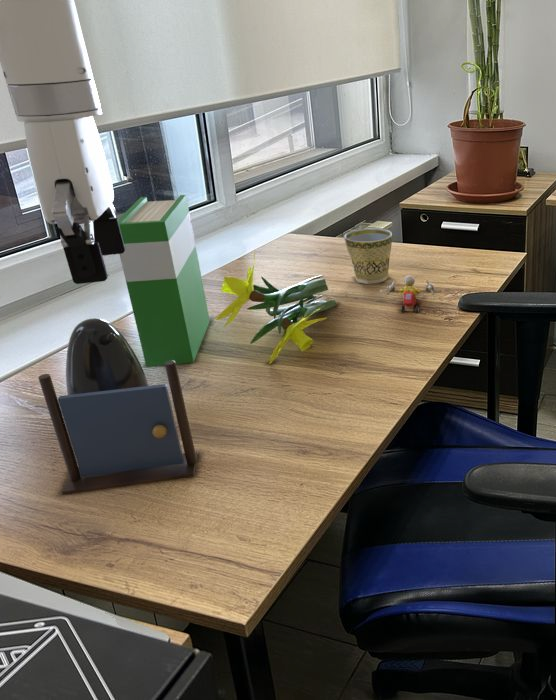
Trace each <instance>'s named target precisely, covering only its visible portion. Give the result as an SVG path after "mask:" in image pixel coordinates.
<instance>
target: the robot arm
mask: <svg viewBox="0 0 556 700" xmlns="http://www.w3.org/2000/svg"><path fill="white" fill-rule="evenodd" d="M85 42H86V41H85V38H84V34H83V31H82V27H81V23H80V18H79V14H78V10H77V7H76V3H75V0H0V66H1V70H2V73H3V76H4V80H5V83H6V87H7V90H8V94H9V97H10V100H11V103H12V106H13V110H14V113H15V114H14V115H15V116H16V120H17V121H18V122H21V123H23V126H24V134H25V142H26V147H27V153H28V156H29V157H28V158H29V161H30V166H31V170H32V175H33V179H34V182H35V187H36V191H37V195H38V200H39V202H40V203H39V204H40V206H41V210H42V214H43V218H44V220H45V221H46V222H47V223H48V224H49V225H57V227H56V232H57V234H59V236H60V244H61V246H62V248H63V252H64V255H65V258H66V259H65V260H66V262H67V266H68V269H69V272H70V275H71V279H72V282H73V283H74V284H76V285H80V284H81V285H82V284H83V285H84V284H89V283H90V284H91V283H101V282H105V281H106V280H108V278H109V275H108V272H107V267H106V264H105V260H104V257H103V256H111V255H120V254H122V253H124V252H125V246H124V242H123V238H122V234H121V230H120V226H119V222H118V219H119V218H118V217H117V211H116V208H115V207H114V204H113V202H114V198H115V193H114V187H113V183H112V178H111V174H110V171H109V167H108V162H107V160H106V159H107V158H106V156H105V151H104V149H103V145H102V142H101V139H100V135H99V131H98V128H97V125H96V123H95V122H96V121H95V119H94V117H95V116H100V115H102V114H103V112H102V108H101V103H100V99H99V95H98V91H97V87H96V83H95V79H94V75H93V71H92V67H91V63H90V59H89V55H88V51H87V47H86V43H85ZM82 225H83V227H84V228H83V227H82Z"/></svg>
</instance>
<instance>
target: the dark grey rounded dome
mask: <svg viewBox="0 0 556 700" xmlns="http://www.w3.org/2000/svg"><path fill="white" fill-rule="evenodd" d="M65 384H66V393H67V394H66V395H73V394H82V393H91V392H100V391H108V390H117V389H126V388H135V387H144V386H149V382H148V378H147V376H146V374H145V371H144V369H143V366H142V365H141V363H140V360H139V358H138V356H137V355H136V353H135V351H134V349H133V348H132V346H131V345H130V344H129V341H128V340H127V339H126V338H125V336H124V335H123V334H122V333H121V332H120V331H119V329H118V328H117V327H115V325H113V324H112V323H111V322H109V321H107V320H106V319H102V318H87V319H85V320H82V321H81V322H79V323H78V324H77V325H76V326H74V328H73V330H72V332H71V334H70V337H69V340H68V344H67V349H66V358H65Z"/></svg>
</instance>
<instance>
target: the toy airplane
mask: <svg viewBox="0 0 556 700" xmlns="http://www.w3.org/2000/svg"><path fill="white" fill-rule="evenodd" d="M415 281H416V280H415V277H414V276H412V275H406V276H405V277H404V279H403V282H404V284H405V286H404V287H403V288H399V289H396V286H395V283H396V281H395V280H392V283H390V284H387V287H386V289H379V293H380V294H386V296H389V295H390V294H400V295H401V296H403V299H402V304H403V305H401V311H400V312H401V314H402V313H405V312H414V311H415V313H419V310H420V308H419V305H417V296H421V297H422V296H424V295H425V294H431V296H435V294H442V289H435V287H434V285H433V284H432V283H430V282H429V280H428V279H427V280H425V282H426V285H425V289H421V288H418V289H417V288H416V287H415V286H414V285H415ZM414 306H415V307H414Z"/></svg>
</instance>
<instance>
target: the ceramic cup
mask: <svg viewBox="0 0 556 700" xmlns="http://www.w3.org/2000/svg"><path fill="white" fill-rule="evenodd" d="M343 238H344V242H345V246H346V250H347V253H348V255H349V257H350V260H351V261H350V262H351V265H352V268H353V273H354V276H355V279H356V282H357V283H360V284H365V285H371V284H373V285H374V284H381V283H383V282H384V281H386V280H388V276H389V269H390V258H391V252H392V244H393V233H392V230H391V229H385V228H376V227H372V228H371V227H369V228H360V229H354V230H351V231H348V232H347V233H345V234H344V236H343Z"/></svg>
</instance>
